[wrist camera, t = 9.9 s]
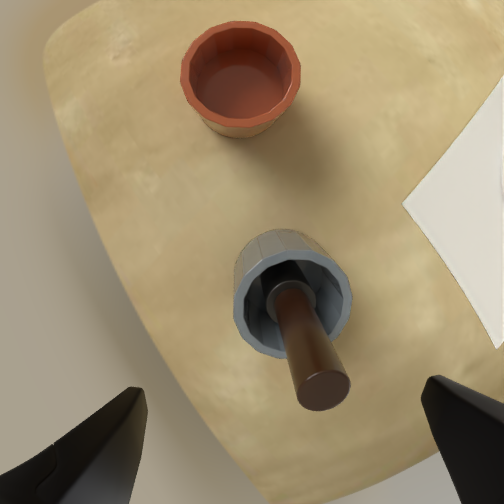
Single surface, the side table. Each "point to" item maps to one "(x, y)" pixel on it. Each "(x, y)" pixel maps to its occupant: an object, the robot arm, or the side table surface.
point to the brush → (304, 338)
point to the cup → (314, 269)
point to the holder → (240, 77)
